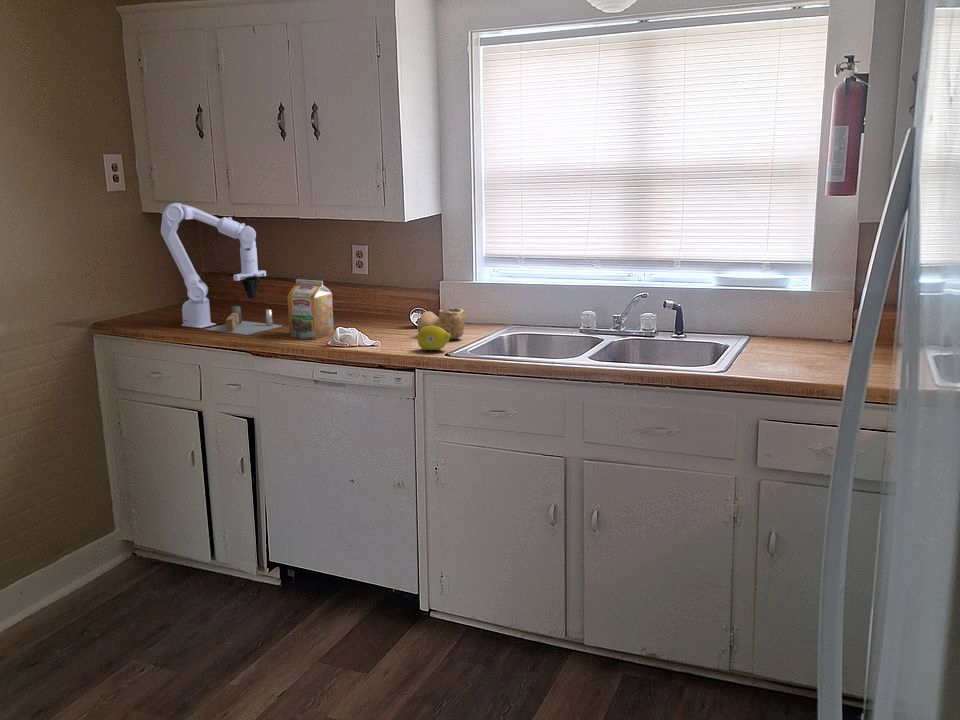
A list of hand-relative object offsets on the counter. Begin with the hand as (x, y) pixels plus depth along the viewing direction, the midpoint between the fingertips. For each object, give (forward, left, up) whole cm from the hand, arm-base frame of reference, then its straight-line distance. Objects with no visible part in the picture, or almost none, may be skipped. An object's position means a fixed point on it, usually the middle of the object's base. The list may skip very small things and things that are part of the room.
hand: (251, 298), depth 316 cm
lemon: (+82, -8, -10) cm, 83 cm away
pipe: (+75, +10, -10) cm, 76 cm away
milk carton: (+33, -7, -10) cm, 35 cm away
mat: (+3, -8, -9) cm, 13 cm away
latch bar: (0, -10, -9) cm, 13 cm away
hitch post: (+9, -1, -9) cm, 13 cm away
